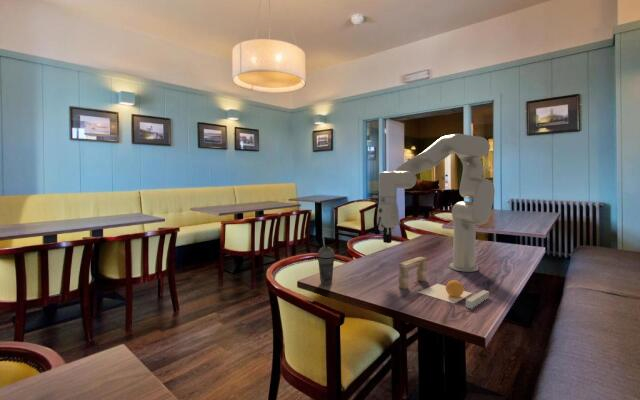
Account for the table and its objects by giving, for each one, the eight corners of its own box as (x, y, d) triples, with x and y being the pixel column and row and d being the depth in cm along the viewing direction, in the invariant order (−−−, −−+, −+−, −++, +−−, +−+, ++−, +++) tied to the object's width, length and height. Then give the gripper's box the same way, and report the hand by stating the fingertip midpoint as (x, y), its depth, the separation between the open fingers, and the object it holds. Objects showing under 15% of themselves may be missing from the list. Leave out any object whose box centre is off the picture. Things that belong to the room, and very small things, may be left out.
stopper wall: (483, 296, 120) (483, 289, 120) (488, 298, 118) (489, 291, 118) (465, 307, 111) (465, 300, 111) (471, 309, 109) (471, 301, 109)
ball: (466, 296, 120) (450, 294, 124) (465, 280, 120) (449, 278, 124) (459, 299, 116) (443, 297, 120) (459, 282, 116) (442, 280, 120)
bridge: (398, 287, 130) (399, 263, 129) (419, 278, 140) (420, 256, 139) (405, 289, 128) (405, 264, 127) (426, 280, 138) (426, 257, 137)
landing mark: (437, 284, 133) (437, 283, 133) (472, 293, 123) (472, 293, 123) (418, 292, 124) (418, 292, 124) (454, 303, 114) (454, 303, 114)
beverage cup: (333, 287, 131) (333, 238, 129) (315, 286, 132) (315, 237, 130) (336, 281, 138) (336, 234, 136) (319, 280, 139) (318, 234, 138)
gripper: (383, 202, 133) (383, 246, 135) (405, 199, 143) (404, 241, 145) (369, 201, 139) (369, 243, 140) (391, 198, 149) (390, 238, 150)
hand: (387, 242), depth 143 cm, fingers closed
